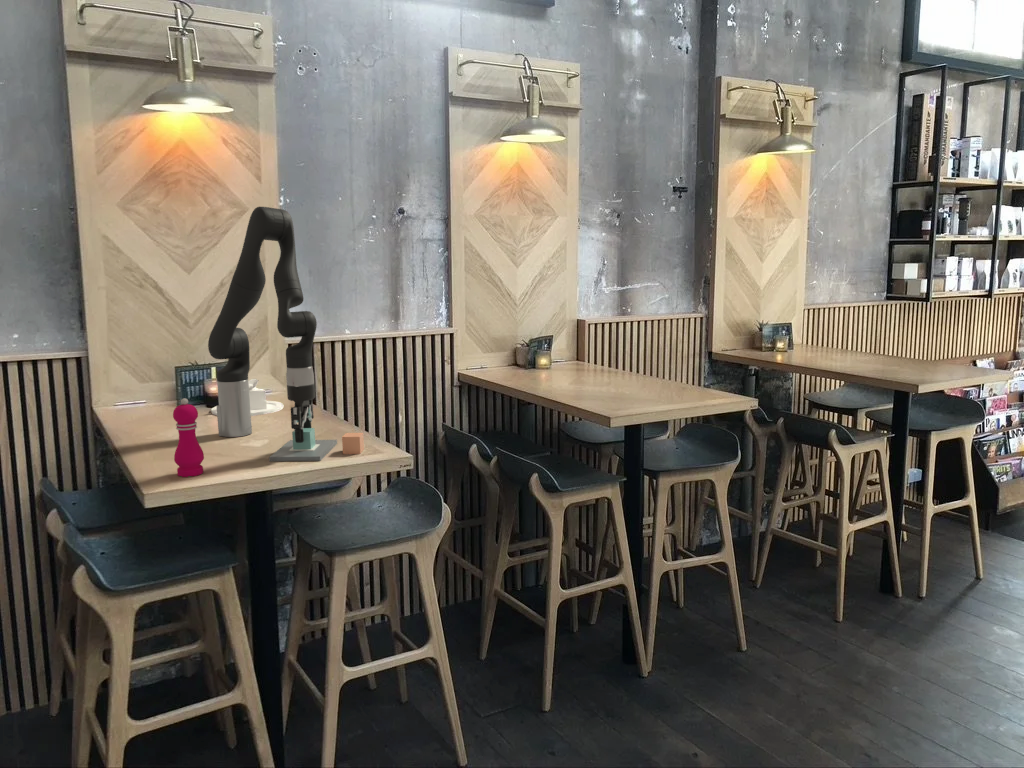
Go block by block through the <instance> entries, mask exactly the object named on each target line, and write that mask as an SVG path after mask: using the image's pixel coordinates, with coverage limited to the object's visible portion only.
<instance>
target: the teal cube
mask: <svg viewBox="0 0 1024 768" xmlns="http://www.w3.org/2000/svg"><path fill="white" fill-rule="evenodd" d="M315 430H316V429H315V428H314V427H312V428H303V434H304V442H302V443H296V441H295V430H294V429H293V431H292V434H291V435H292V440H293V449H312V448H313V447H314V446H315V440H316V432H315Z"/></svg>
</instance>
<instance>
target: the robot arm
mask: <svg viewBox="0 0 1024 768" xmlns="http://www.w3.org/2000/svg"><path fill="white" fill-rule="evenodd" d="M264 241H271V242H272V241H273V242H277V243H278V246H279V250H280V254H279V255H280V256H279V259H278V262H277V264H276V267H275V269H274V272H273V285H274V289H275V294H276V298H277V307H278V311H277V312H278V313H277V326H276V327H277V331H278V333H279V334H280V335H281V336H282V337H283V338H287V339H288V338H301V339H300V340H299V342H298V343H296V344H294V345H291V346H287V347H286V350H285V361H286V373H285V375H286V376H285V377H286V392H287V400H288V401H290V402H294V406H291V407H290V419H291V420H290V422H291V426H290V427H291V430H293V431H294V430H295V441H296V443H302V442H304V434H303V428H313V427H312V422H313V419H314V417H315V416H314V405H313V400H314V399H315V398H316V390H315V389H316V388H315V374H314V369H313V354H312V353H313V352H312V351H313V347H314V346H313V345H314V339H315V336H316V331H317V324H318V323H317V318H316V315H315V314H314V313H313V312H311V311H309V310H304V311H303V310H301V311H290V309H293V308H296V307H299V306H300V305H302V304H303V302H304V294H303V289H302V286H301V282H300V277H299V273H298V267H297V265H298V264H297V255H296V254H297V253H296V240H295V229H294V223H293V218H292V216H291V214H290V212H288V211H287V210H285V209H283V208H282V209H281V208H274V207H268V206H257V207H255V208H254V209H253V211H252V213H251V214H250V217H249V219H248V223H247V228H246V231H245V236H244V240H243V245H242V248H241V252H240V255H239V258H238V261H237V265H236V267H235V270H234V273H233V275H232V278H231V281H230V284H229V288H228V291H227V294H226V297H225V299H224V302H223V305H222V307H221V310H220V313H219V314H218V315H219V316H218V317H217V319H216V322H215V323H214V326H213V327H212V329H211V331H210V333H209V338H208V342H207V347H208V348H207V349H208V352H209V355H210V356H211V357H212V358H214V359H215V360H227V363H226V365H224V366H223V367H222V368H221V369H219V370H218V371H217V372H216V383H217V384H216V385H217V395H218V396H217V397H218V398H217V399H218V405H216V406H217V415H216V417H217V430H218V437H226V438H235V437H245V436H248V435H251V434H253V428H252V427H253V426H252V416H251V411H250V396H249V382H248V381H249V373H250V368H251V364H250V362H251V361H250V356H251V355H250V341H249V340H250V339H249V336H248V334H247V333H246V331H245V330H244V329H243V328H241V327H238V325H239V324H240V323H241V321H242V320H243V319H244V318H245V317H246V316H247V315H248V314H249V313H250V312H251V311H252V310H253V308H254V307H256V305H257V304H258V303H259V301H260V299H261V296H262V293H263V291H264V288H265V285H266V273H265V271H264V267H263V264H262V261H261V256H260V255H261V254H260V253H261V248H262V245H263V242H264Z"/></svg>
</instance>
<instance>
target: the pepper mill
mask: <svg viewBox="0 0 1024 768" xmlns="http://www.w3.org/2000/svg"><path fill="white" fill-rule="evenodd" d="M180 403H181V404H179V405H178V406H176V407H175V408H174V409H173V413H172V416H173V419H174V421H175V422H176V424H175V427H176V428H175V429H176V430H177V432H178V443H177V447H176V449H175V452H174V464H176V465H177V466H178V467H177V469H176V470H177V471H176V472H177V476H178V477H180V476H182V477H181V478H189V477H188V476H192V477H198V476H200V475H202V474H203V473H204V467H203V465H202V462H203V461H204V459H205V456H204V455H205V453H204V451H203V449H202V447H201V445H200V443H199V442H198V439H197V436H196V434H197V433H196V429H197V428H198V426H197V422H196V420H197V418H198V417H199V412H198V409H197V407H196V406H194V404H189V399H188V398H184V397H183V398H182V399H181V400H180Z"/></svg>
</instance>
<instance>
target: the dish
mask: <svg viewBox="0 0 1024 768" xmlns="http://www.w3.org/2000/svg"><path fill="white" fill-rule="evenodd" d="M248 382H249V396H250V411H251V417H255V416H261V415H266V414H272V413H276V412H279V411H281V410H283V408H285V407H284V403H282V402H280V401H275V400H267V397H266V395H267V394H266V393H267V392H266V389H262V388H258V387H257V385H258V383H259V379H257V378H252V379H248ZM217 406H218V405H216V406H215V405H214V407H212V408H210V409H211V410H210V411H211V414H212V415H214V416H217Z"/></svg>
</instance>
